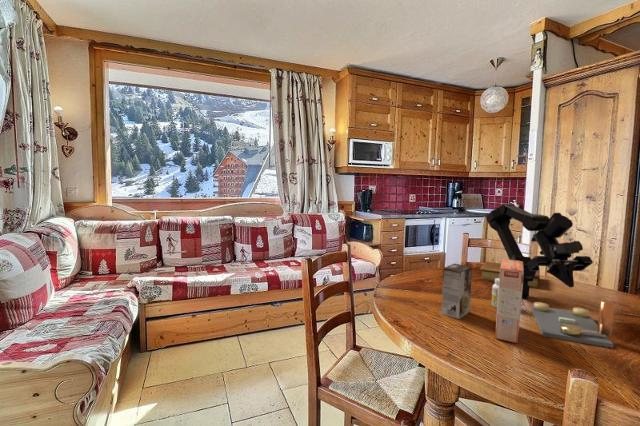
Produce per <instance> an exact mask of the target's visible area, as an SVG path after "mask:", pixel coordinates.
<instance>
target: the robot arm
mask: <svg viewBox="0 0 640 426" xmlns="http://www.w3.org/2000/svg"><path fill="white" fill-rule="evenodd" d="M485 219H486V222H487V224H488V225H489V226H490V228H492V230H494V231H496V233H497V235H498V237H499V239H500V241H501V243H502V246H503V248H504V250H505V252H506V255H507V257H508V260H516V261H522V262H523V271H524V274H523V289H522V299H526V300H527V299H529V296H530V286H529V284H528V282H533V279H534V276H535V274H536V271H538V270H539V268H540V267H547V270H546V273H547V274H550V275H552V276H553V277H555V278H556V279H558V280H559V281H561V282H562V283H563V284H564V285H566V286H567V287H568V288H574V287H575V282H574V272H582V271H584V270H585V269H587V268H588V267H590V266H591V265H592V264H594V262H593V259H592V258H591V257H590V256H589V255H576V256H575V257H573V258H572V259H570V258H571V257H572V256H573V255H572V254H579V253H580V251H583V249H584V247H583V244H582V243H581V242H580V241H579V240H573V241H570V242H559V241H558V239H559V238H562V237H563V236H564V235H565V234H566V233H567V232H568V231H569V230H570V229H571V228H572V227H573V226H574V223H573V221H572V220H571V219H569V218H568V217H567V216H565V215H562V213H561V212H554V213H552V215H551V216H550V217H549V216H548V215H545V214H538V213H537V214H536V213H531V212H529V211H527V210H524V209H523V208H520V207H518V206H516V205H515V204H508V203H507V204H501V205H500V206H499V207H497V208H495V209H493V210H491V211H490V212H489V213H488V214H487V215H486V218H485ZM512 219H514V220H516V221H518V222H519V223H521V224H522V227H523V228H525V229H526V230H527V231H529V232H536V233H533V235H532V237H531V242H533V243H535V242H536V243H537V244H538V246H539V248H540V251H539V254H540V255H535V256H533V258H531V257H530V256H524V255H523V253H522V251H521V249H520V247H519V245H518V243H517V240H516V238H515V237H514V235H513V232H512V231H511V228H510V224H511V220H512Z"/></svg>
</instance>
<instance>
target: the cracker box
mask: <svg viewBox="0 0 640 426" xmlns="http://www.w3.org/2000/svg"><path fill="white" fill-rule="evenodd" d="M523 274H524V271H523V262H522V261H516V260H510V259H502V261H501V268H500V277H499V290H498V305H497V307H496V321H495V338H494V339H496V340H501V341H505V342H509V343H513V344H518V343H519V342H518V340H519V333H520V332H519V331H520V323H521V310H522V301H523V300H522V299H523V298H522V289H523Z"/></svg>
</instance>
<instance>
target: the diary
mask: <svg viewBox="0 0 640 426" xmlns="http://www.w3.org/2000/svg"><path fill="white" fill-rule="evenodd" d="M501 264H502V262H501V263H499V262H491V261H485V262H484V263H483V264H482V265H481V268H480V269H479V272H481V276H480V278H479V280H480V279H482V280H481V281H485V280H487V281H486V282H491V281H493V283H495V279H496V278H499V277H500V268H501ZM540 271H541V269H540V267H539V270H538V271H536V274H535V276H534V279H533V282H528V284H529V286H530V288H531V289H537V290H539V289H540V278H541V277H540V273H541V272H540ZM530 288H529V289H530Z"/></svg>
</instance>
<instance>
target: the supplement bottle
mask: <svg viewBox="0 0 640 426" xmlns="http://www.w3.org/2000/svg"><path fill="white" fill-rule="evenodd" d="M498 290H499V278H496V279H495V282H494V284H492V289H491V305H492V306H494V307H495V308H497V305H498Z"/></svg>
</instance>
